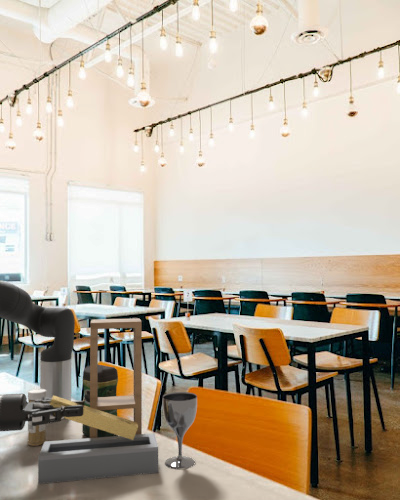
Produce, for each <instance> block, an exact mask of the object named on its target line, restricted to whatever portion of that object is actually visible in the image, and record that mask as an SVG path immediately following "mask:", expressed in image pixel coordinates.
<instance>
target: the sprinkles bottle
mask: <svg viewBox="0 0 400 500" xmlns="http://www.w3.org/2000/svg"><path fill="white" fill-rule="evenodd" d="M43 397H47V391H46V390H45V389H40V388H33V389H31V390H29V391H28V392H27V399H28V400H27V402H29V403H30V402H35V400H38V399H41V398H43ZM46 429H47V426H46V424H42V425H37V426H32V421H27V435H28V436H27V445H28V446H32V447H35V446H41V445H43V444H44V442H46V441H47V439H46V437H47V436H46V434H47V433H46Z"/></svg>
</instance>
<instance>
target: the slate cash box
mask: <svg viewBox="0 0 400 500" xmlns="http://www.w3.org/2000/svg"><path fill="white" fill-rule="evenodd" d="M38 454H39V455H38V456H37V457H38V460H37V461H38V463H37V464H38V465H37V469H38V470H37V473H38V474H37V476H38V477H37V484H38V485H43V484H51V483H52V484H53V483H62V482H72V481H82V480H83V481H84V480H93V479H103V478H104V479H105V478H115V477H116V478H117V477H126V476H137V475H147V474H148V475H149V474H156V473H159V445H158V442H157V437H156V433H155V432H154V433H142V434H138V435H135V437H134V439H133V440H131V439H128V438H125V437H122V436H119V435H116V436H115V435H114V436H111V437H98V438H90V437H87V438H77V439H63V440H49V441H48V440H46V442H44V444H42V447H41V450H40V452H39V453H38Z"/></svg>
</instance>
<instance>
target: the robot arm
mask: <svg viewBox="0 0 400 500" xmlns="http://www.w3.org/2000/svg"><path fill="white" fill-rule="evenodd" d="M32 299H33V298H32V297H31V295H30V294H29V293H28V292H27V291H26V290H24V289H23V288H21V287H19V286H17V285H15V284H13V283H11V282H8V281H5V280H2V279H1V280H0V318H1V319H3V320H6V321H8V322H9V321H10V322H12V323H15V324H18V325H21V326H24V327H26V328H28V329H29V330H30V331H33V332H34V333H35V334H37V335H39V336H42V337H45V338H53V339H54V340H53V343H52V345H51V346H50V347H47V348H44V349H43V350H41V352H40V356H39V357H40V363H39V364H40V369H39V370H40V375H39V377H40V378H39V379H40V380H39V381H40V382H39V384H40V385H39V389H45V390H46V391H47V397H43V398H41V399H38V400H35V402H30V403H29V401H28V400H27V399H28V397H27V396H26V394H25V393H7V394H6V393H5V394H4V393H3V394H0V432H12V431H22V430H23V429H24V427H25V426H26V422H28V421H32V426H37V425H42V424H53V423H58V422H61V421H62V420H63V419H66V418H65V416H66V417H76V416H82V415H83V405H84V400H72V355H73V354H72V353H73V349H74V341H75V327H76V326H75V325H76V322H75V321H76V320H75V315H74V313H73V311H72V309H70V308H67V307H45V306H41V305H38V304H36V303H34V302H33V300H32ZM53 395H54V396H57V397H60V398H63V399H66V400H69V401H72V402H75V403H78V404H81V405H73V406H66V408H65V406H55V405H54V404H50V402H51V399H52V397H53ZM49 409H50V410H49ZM54 413H55V414H54Z"/></svg>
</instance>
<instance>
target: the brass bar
mask: <svg viewBox="0 0 400 500" xmlns="http://www.w3.org/2000/svg"><path fill="white" fill-rule="evenodd" d="M72 401H73V400H71V401H69V400H66V399H63V398H60V397H57V396H54V395H53V397H52V399H51V402H50V404H54V405H55V406H65V408H66V406H73V405H81V404H78V403H75V402H72ZM49 410H50V409H49ZM54 414H55V413H54ZM64 419H66V420H69V421H73V422H75V423H79V424H81V425H83V424H84V425H88V426H91V427H94V428H97V429H100V430H103V431H106V432H109V433H113V434H115V435H116V436H122V437H125V438H128V439H131V440H133V439H134V437H135V434H136V431H137V429H138V423H137V422H134V420H130V419H127V418H124V417H121V416H118V415H117V416H115V415H112V414H109V413H106V412H103V411H100V410H97V409H94V408H91V407H88V406H85V405H83V415H82V416H76V417H66V416H65V418H64Z"/></svg>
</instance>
